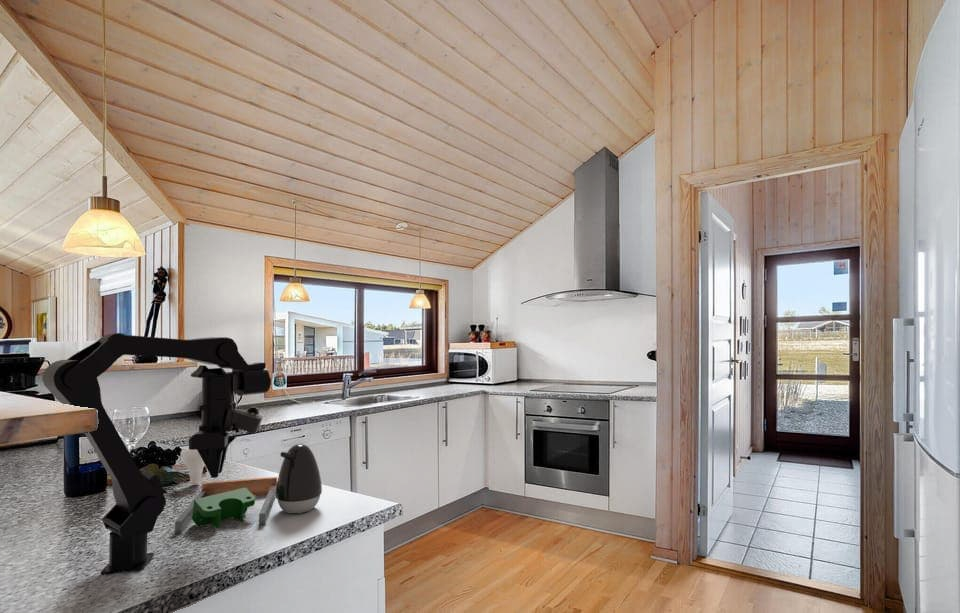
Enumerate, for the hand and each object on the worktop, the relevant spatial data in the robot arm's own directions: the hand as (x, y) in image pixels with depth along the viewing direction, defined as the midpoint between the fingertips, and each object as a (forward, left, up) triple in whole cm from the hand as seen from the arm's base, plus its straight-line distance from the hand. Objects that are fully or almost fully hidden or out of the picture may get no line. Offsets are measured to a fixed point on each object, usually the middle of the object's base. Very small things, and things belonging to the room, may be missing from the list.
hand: (216, 475), depth 108 cm
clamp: (+9, 0, -13) cm, 16 cm away
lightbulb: (+42, +13, -13) cm, 45 cm away
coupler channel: (+17, 0, -12) cm, 21 cm away
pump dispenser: (+13, -15, -13) cm, 23 cm away
